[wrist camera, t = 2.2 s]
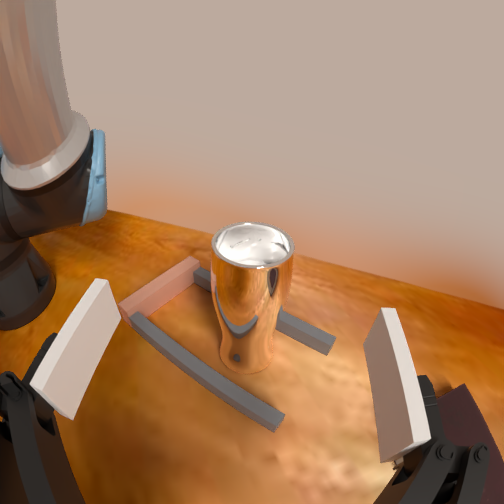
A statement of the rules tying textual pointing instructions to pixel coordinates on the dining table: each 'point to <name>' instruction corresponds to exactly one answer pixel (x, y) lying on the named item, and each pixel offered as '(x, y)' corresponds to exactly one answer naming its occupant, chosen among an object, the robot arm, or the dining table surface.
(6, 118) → the robot arm
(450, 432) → the book
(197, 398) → the dining table surface
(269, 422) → the guide channel
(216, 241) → the shiny metal tumbler
